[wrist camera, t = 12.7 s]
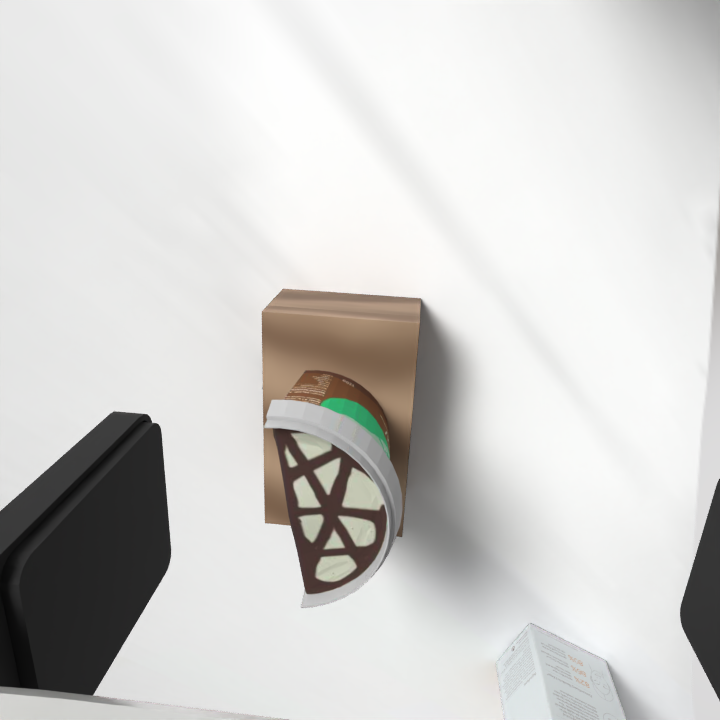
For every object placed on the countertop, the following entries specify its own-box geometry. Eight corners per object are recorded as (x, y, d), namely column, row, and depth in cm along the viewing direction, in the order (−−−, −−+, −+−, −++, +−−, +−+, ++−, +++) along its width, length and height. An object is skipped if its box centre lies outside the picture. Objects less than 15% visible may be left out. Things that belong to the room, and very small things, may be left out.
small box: (494, 660, 54) (508, 777, 44) (529, 619, 52) (553, 732, 42) (570, 699, 55) (601, 822, 45) (608, 660, 53) (649, 780, 43)
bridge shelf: (283, 288, 44) (261, 311, 38) (420, 298, 43) (419, 323, 37) (283, 478, 50) (264, 522, 44) (405, 490, 49) (402, 536, 43)
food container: (416, 506, 42) (412, 613, 33) (329, 511, 43) (302, 616, 34) (396, 340, 38) (386, 407, 29) (301, 348, 39) (261, 416, 30)
